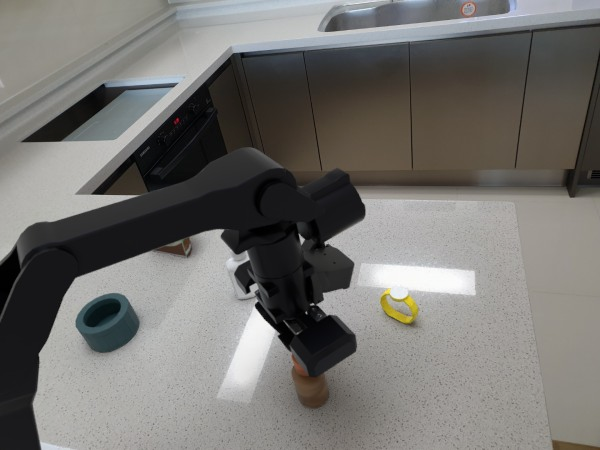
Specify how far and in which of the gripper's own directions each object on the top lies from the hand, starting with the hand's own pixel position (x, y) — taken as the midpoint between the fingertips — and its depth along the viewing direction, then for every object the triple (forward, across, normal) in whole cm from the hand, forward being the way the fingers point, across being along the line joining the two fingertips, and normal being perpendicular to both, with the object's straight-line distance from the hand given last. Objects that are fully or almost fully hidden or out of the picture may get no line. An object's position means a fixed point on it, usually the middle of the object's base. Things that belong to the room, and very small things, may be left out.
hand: (301, 350), depth 59 cm
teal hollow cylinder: (+10, +32, +22) cm, 40 cm away
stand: (+10, 0, 0) cm, 10 cm away
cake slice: (+10, +48, +4) cm, 49 cm away
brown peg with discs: (+4, 0, 0) cm, 4 cm away
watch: (+10, +3, -18) cm, 21 cm away
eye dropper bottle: (+10, +24, -2) cm, 26 cm away
